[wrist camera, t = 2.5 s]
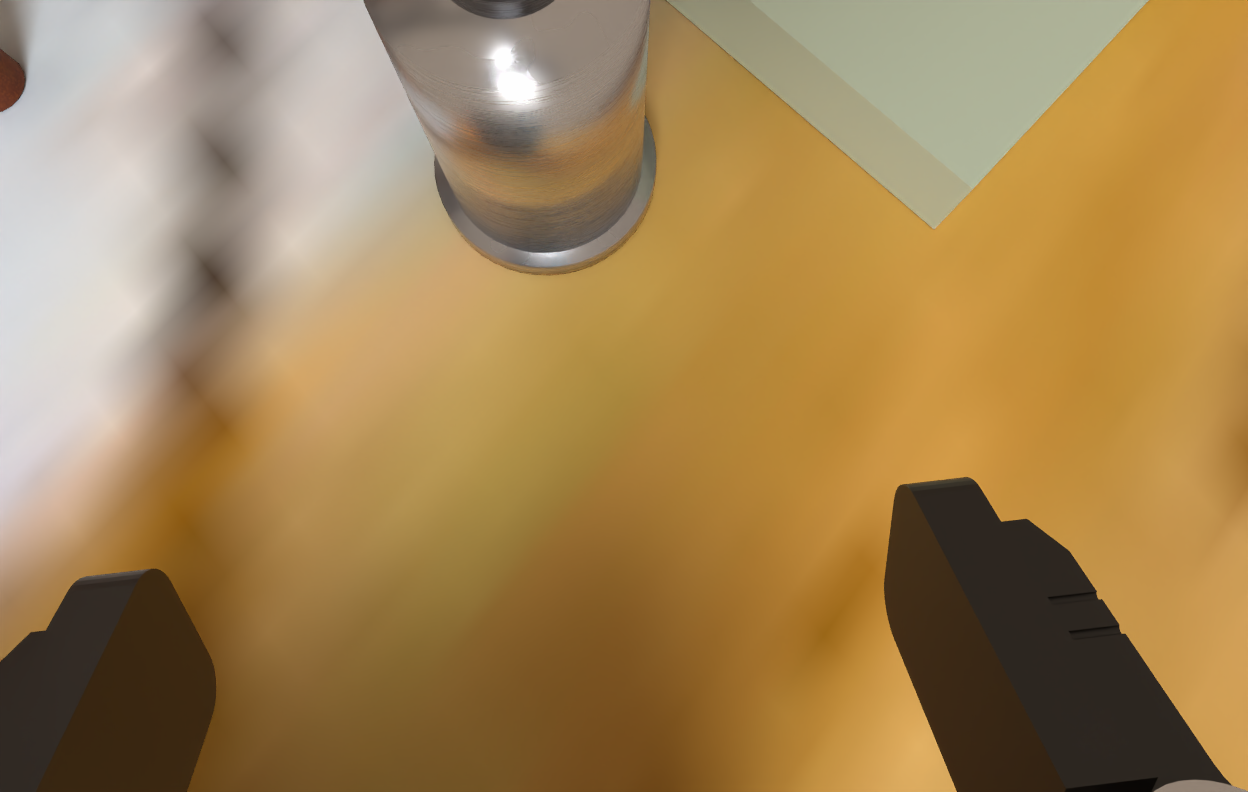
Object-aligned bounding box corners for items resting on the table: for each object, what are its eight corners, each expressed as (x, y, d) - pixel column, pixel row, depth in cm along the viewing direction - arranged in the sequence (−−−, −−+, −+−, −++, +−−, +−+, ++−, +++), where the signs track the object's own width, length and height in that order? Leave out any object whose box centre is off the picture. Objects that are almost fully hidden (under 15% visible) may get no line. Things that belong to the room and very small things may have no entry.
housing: (395, 175, 27) (237, -87, 16) (545, 32, 28) (494, -312, 17) (549, 319, 26) (496, 148, 15) (700, 167, 27) (752, -99, 16)
